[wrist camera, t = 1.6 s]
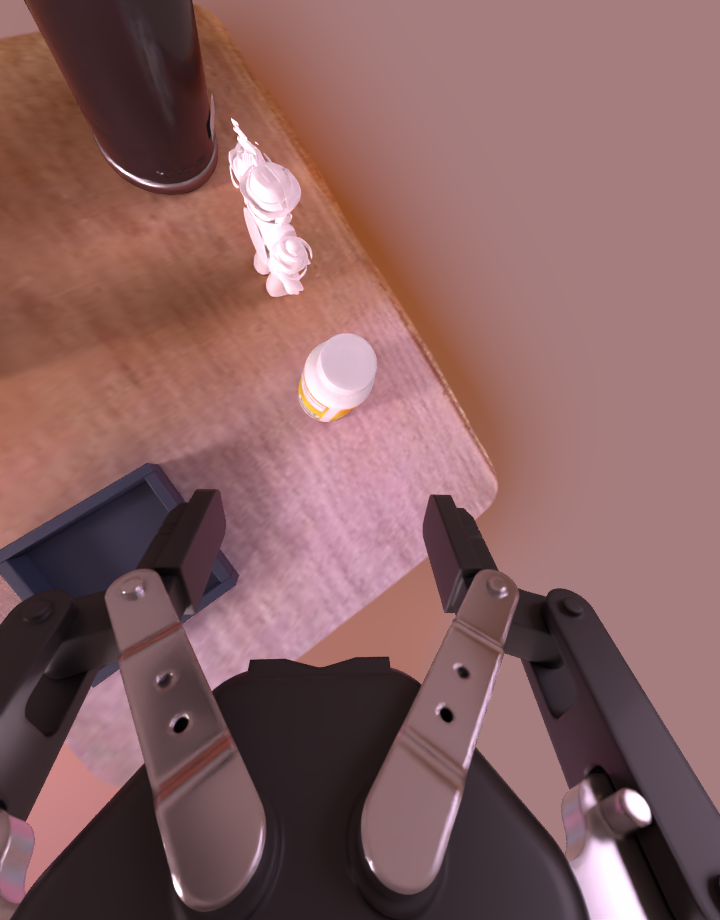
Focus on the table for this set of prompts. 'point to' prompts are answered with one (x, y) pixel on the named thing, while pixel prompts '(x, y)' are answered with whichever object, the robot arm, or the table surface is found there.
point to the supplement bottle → (337, 377)
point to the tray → (102, 544)
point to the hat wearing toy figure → (270, 216)
